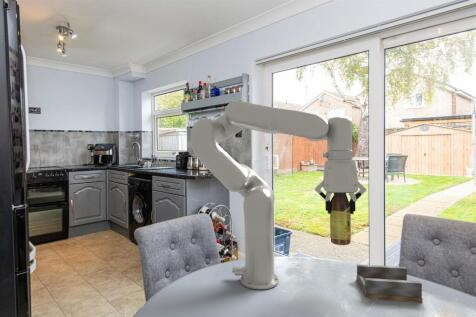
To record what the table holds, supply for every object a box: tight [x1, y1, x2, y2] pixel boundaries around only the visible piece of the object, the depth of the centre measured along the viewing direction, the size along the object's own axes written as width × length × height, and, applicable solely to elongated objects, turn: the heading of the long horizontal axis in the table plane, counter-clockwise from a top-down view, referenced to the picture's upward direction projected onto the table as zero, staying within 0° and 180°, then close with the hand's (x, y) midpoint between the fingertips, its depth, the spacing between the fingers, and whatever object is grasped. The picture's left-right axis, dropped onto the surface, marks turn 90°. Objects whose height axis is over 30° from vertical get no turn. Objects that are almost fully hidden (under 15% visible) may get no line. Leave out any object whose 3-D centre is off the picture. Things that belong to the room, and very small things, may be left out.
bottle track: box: [356, 264, 423, 303], centre depth 94 cm, size 15×14×5 cm
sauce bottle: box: [329, 193, 352, 246], centre depth 97 cm, size 7×6×20 cm
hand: (340, 212), depth 97 cm, fingers closed on sauce bottle, 6 cm apart
